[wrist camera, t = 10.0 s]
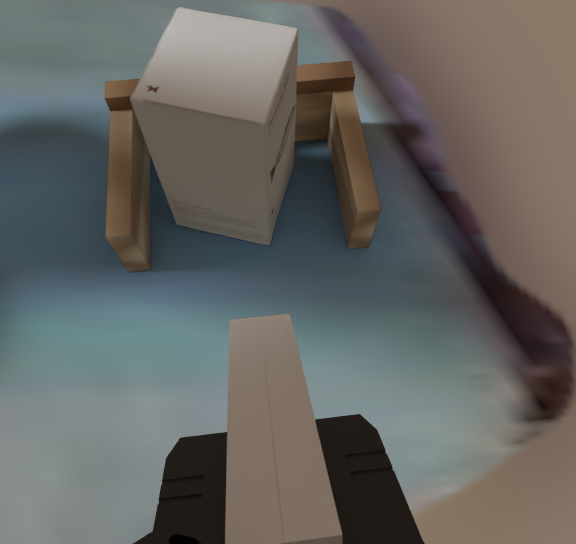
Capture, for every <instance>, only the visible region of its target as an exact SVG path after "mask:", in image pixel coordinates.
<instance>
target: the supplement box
mask: <svg viewBox="0 0 576 544" xmlns="http://www.w3.org/2000/svg"><path fill="white" fill-rule="evenodd" d="M297 53H298V29H297V28H292V27H287V26H282V25H276V24H271V23H265V22H259V21H254V20H249V19H243V18H237V17H231V16H225V15H219V14H213V13H208V12H202V11H197V10H192V9H187V8H182V7H179V8H177V9H176V10H175V12H174V14H173V16H172V18H171V20H170V22H169V24H168V26H167V28H166V30H165V32H164V34H163V36H162V38H161V40H160V42H159V43H158V45H157V47H156V49H155V50H154V52H153V54H152V56H151V59H150V61H149V63H148V65H147V67H146V69H145V71H144V73H143V75H142V76H141V78H140V80H139V82H138V84H137V86H136V88H135V90H134V92H133V93H132V95H131V97H130V101H131V104H132V107H133V110H134V112H135V115H136V118H137V120H138V123H139V126H140V128H141V131H142V134H143V136H144V139H145V142H146V145H147V147H148V150H149V153H150V155H151V158H152V161H153V163H154V166H155V169H156V171H157V174H158V177H159V179H160V182H161V185H162V187H163V190H164V193H165V195H166V198H167V201H168V204H169V206H170V209H171V212H172V214H173V217H174V220H175V223H176V224H177V225H180V226H184V227H189V228H192V229H197V230H201V231H206V232H210V233H214V234H219V235H223V236H227V237H231V238H236V239H240V240H244V241H249V242H253V243H258V244H263V245H270V244H271V240H272V236H273V232H274V228H275V224H276V220H277V217H278V214H279V210H280V207H281V204H282V201H283V198H284V195H285V191H286V188H287V185H288V182H289V180H290V177H291V174H292V171H293V168H294V147H295V121H296V89H297Z"/></svg>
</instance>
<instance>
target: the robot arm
mask: <svg viewBox="0 0 576 544" xmlns="http://www.w3.org/2000/svg"><path fill="white" fill-rule="evenodd" d="M133 544H424V542H423V540H422V538H421V535H420V533H419V531H418V528H417V526H416V524H415V521H414V518H413V516H412V514H411V511H410V509H409V506H408V504H407V501H406V499H405V497H404V494H403V492H402V489H401V487H400V484H399V482H398V480H397V477H396V475H395V472H394V471H393V469H392V465H391V463H390V460H389V458H388V455H387V454H386V452H385V448H384V446H383V443H382V441H381V438H380V436H379V433H378V431H377V429H376V428H374V427H373V426H372V425H371V424H370V423H369V422H368V421H367V420H366V419H365V418H363V417H362V416H361V415H360V414H357V415H348V416H340V417H332V418H324V419H316V420H315V418H314V414H313V410H312V406H311V402H310V397H309V393H308V389H307V385H306V381H305V376H304V372H303V368H302V364H301V360H300V356H299V351H298V347H297V343H296V339H295V335H294V330H293V326H292V322H291V318H290V314H281V315H271V316H262V317H253V318H243V319H234V320H230V325H229V374H228V423H227V432H224V433H215V434H207V435H199V436H191V437H183V438H180V439H179V441H178V442H177V443H176V445H175V446H174V448H173V449H172V451H171V452H170V453H169V455H168V456H167V458H166V462H165V468H164V473H163V479H162V485H161V490H160V495H159V504H158V506H157V512H156V517H155V523H154V528H153V532H151V533H149V534H148V535H146V536H145V537H143V538H141V539H140V540H138V541H137V542H135V543H133Z"/></svg>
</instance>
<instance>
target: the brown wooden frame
mask: <svg viewBox="0 0 576 544" xmlns="http://www.w3.org/2000/svg"><path fill="white" fill-rule="evenodd" d="M139 80H140V79H131V80H120V81H108V82H105V100H106V102H107V104H108V107H109V109H110V134H109V159H108V185H107V210H106V235H105V237H106V239H107V240H108V242H109V243H110V245H111V246H112V248H113V249H114V251H115V252H116V254H117V255H118V257H119V258H120V260H121V261H122V263H123V264H124V265H125V267H126V268H127V270H128V271H129V272H134V271H144V270H151V243H150V153H149V150H148V147H147V145H146V142H145V139H144V136H143V134H142V131H141V128H140V126H139V123H138V120H137V118H136V115H135V112H134V110H133V107H132V104H131V101H130V97H131V95H132V93H133V92H134V90H135V88H136V86H137V84H138V82H139ZM354 81H355V74H354V69H353V65H352V61H344V62H332V63H320V64H309V65H297V89H296V121H295V142H298V141H309V140H319V139H327V142H328V147H329V152H330V157H331V162H332V168H333V173H334V178H335V183H336V188H337V193H338V198H339V204H340V209H341V214H342V219H343V224H344V229H345V234H346V240H347V245H348V249H352V248H362V247H369V245H370V242H371V239H372V236H373V233H374V230H375V227H376V223H377V220H378V217H379V214H380V211H381V206H380V202H379V198H378V193H377V189H376V185H375V181H374V176H373V172H372V168H371V164H370V159H369V155H368V151H367V147H366V143H365V138H364V134H363V130H362V126H361V121H360V117H359V113H358V109H357V104H356V100H355V96H354V92H353V87H354Z"/></svg>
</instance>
